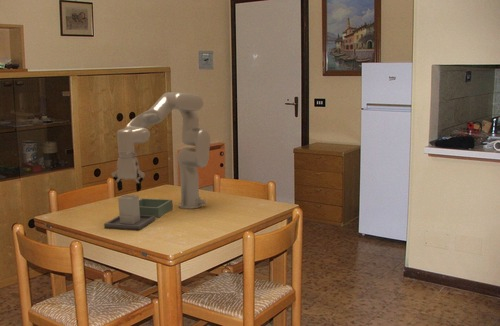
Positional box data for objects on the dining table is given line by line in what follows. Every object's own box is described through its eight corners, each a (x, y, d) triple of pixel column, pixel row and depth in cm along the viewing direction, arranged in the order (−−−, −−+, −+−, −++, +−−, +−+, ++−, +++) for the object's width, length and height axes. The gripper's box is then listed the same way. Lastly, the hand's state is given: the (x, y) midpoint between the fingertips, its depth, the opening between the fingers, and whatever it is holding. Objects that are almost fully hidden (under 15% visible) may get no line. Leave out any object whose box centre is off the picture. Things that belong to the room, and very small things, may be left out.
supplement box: (140, 220, 279) (139, 195, 277) (133, 224, 272) (131, 198, 270) (127, 219, 281) (125, 194, 279) (119, 223, 274) (117, 197, 272)
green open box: (172, 209, 304) (172, 199, 303) (158, 217, 287) (158, 208, 286) (142, 207, 308) (142, 198, 307) (127, 215, 292) (126, 206, 291)
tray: (155, 220, 283) (155, 215, 283) (139, 230, 266) (139, 226, 265) (122, 218, 288) (122, 213, 287) (104, 228, 271) (104, 223, 270)
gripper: (147, 154, 272) (149, 189, 275) (114, 153, 277) (117, 188, 280) (140, 157, 265) (142, 193, 268) (106, 156, 270) (109, 191, 273)
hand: (129, 190), depth 274 cm, fingers open, 9 cm apart
